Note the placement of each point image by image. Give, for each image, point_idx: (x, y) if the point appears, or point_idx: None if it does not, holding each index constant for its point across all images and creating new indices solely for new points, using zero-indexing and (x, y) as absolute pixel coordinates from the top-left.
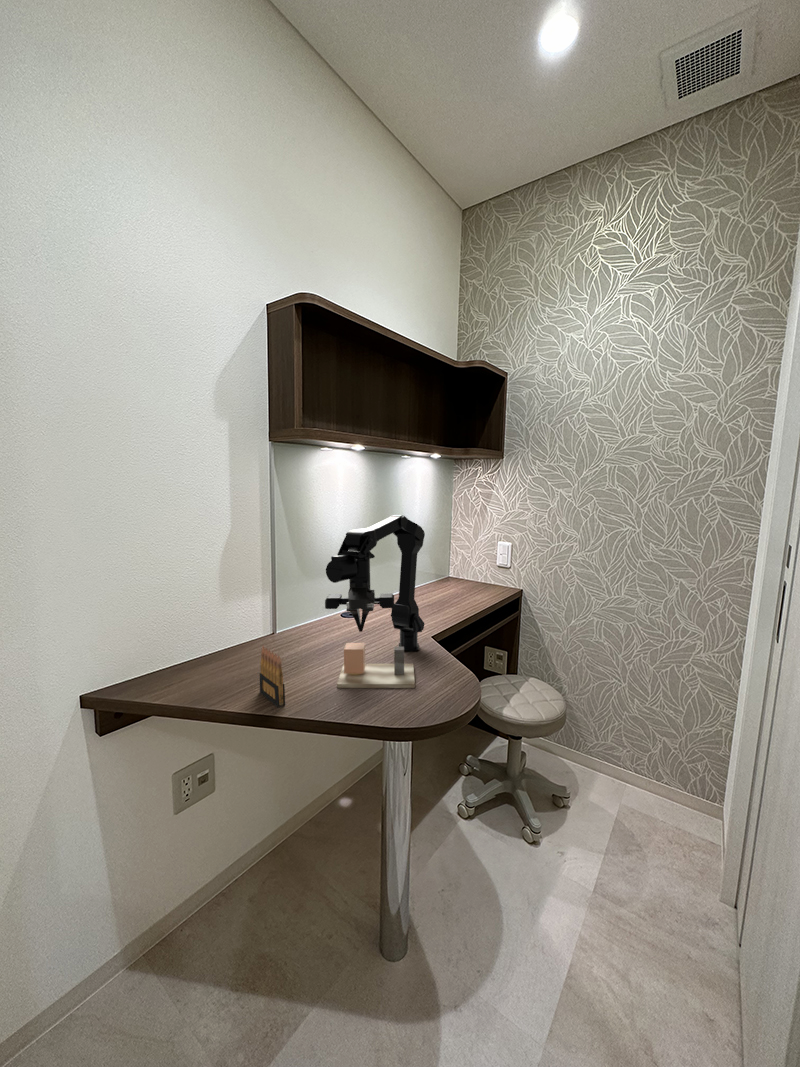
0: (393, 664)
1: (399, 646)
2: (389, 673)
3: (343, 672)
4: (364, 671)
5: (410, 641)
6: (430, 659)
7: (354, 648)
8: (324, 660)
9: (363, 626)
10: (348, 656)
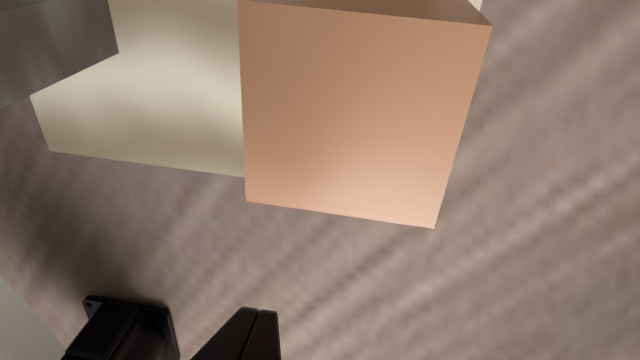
0: (148, 154)
1: (169, 339)
2: (142, 21)
3: None
4: None
5: (89, 334)
6: (14, 214)
7: (350, 49)
8: (524, 281)
9: (193, 356)
10: (425, 1)
